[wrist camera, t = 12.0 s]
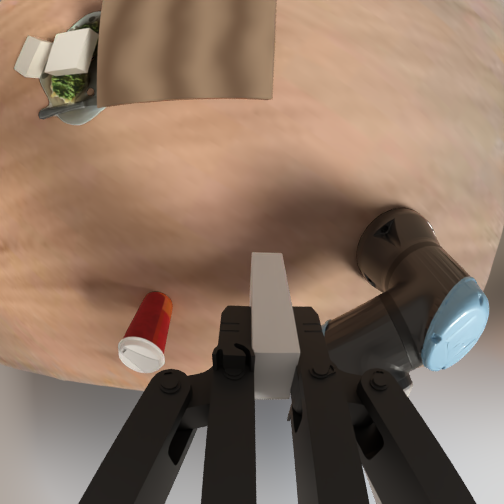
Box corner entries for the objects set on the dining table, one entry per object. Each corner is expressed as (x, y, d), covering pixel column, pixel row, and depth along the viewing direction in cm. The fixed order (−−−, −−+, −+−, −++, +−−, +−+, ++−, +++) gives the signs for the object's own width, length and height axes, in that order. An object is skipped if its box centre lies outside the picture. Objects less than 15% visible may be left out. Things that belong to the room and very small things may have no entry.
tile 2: (55, 43, 27) (41, 40, 24) (39, 78, 29) (25, 77, 26) (41, 37, 27) (28, 35, 24) (26, 69, 29) (13, 68, 27)
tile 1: (56, 34, 24) (67, 39, 27) (44, 72, 25) (56, 76, 28) (89, 27, 24) (99, 34, 27) (76, 67, 26) (87, 72, 29)
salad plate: (65, 153, 38) (49, 160, 34) (26, 75, 30) (10, 76, 26) (159, 83, 35) (149, 82, 30) (112, 0, 27) (99, -8, 23)
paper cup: (132, 303, 52) (108, 357, 40) (152, 279, 50) (128, 335, 37) (165, 325, 55) (149, 381, 43) (186, 303, 52) (173, 362, 40)
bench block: (271, -3, 28) (277, -27, 20) (266, 99, 36) (272, 99, 28) (129, 7, 27) (104, -10, 19) (125, 104, 35) (97, 108, 27)
